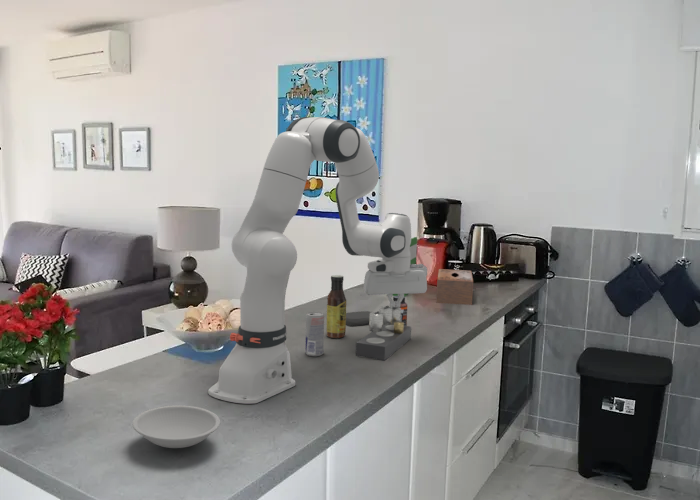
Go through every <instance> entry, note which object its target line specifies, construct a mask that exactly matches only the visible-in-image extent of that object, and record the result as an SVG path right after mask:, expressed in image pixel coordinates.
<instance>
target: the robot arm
mask: <svg viewBox="0 0 700 500" xmlns="http://www.w3.org/2000/svg"><path fill="white" fill-rule="evenodd" d="M314 161H318V162H324V163H325V162H328V163H334V165H335V169H336V172H337V175H338V183H336V186H335V200H336V206H337V212H338V217H339V221H340V226H341V232H342V233H341V234H342V235H341V238H342V246H343V248H344V249H345V251H346V252H347V254H349V255H351V256H355V257H357V256H359V257H360V256H361V257H362V256H364V257H374V258H378V259H375V260H372V261H369V262H367V269H368V270H367V271H365V272H366V273H365V274H364V280H363V292H364V293H365V294H366V295H368V296H373V295H375V296H376V295H386V297H387V299H388V301H389V307H392V308H400V302H401V301H402V300H403V298H404V294H408V295H410V294H411V295H412V294H425V293H426V292H427V290H428V282H427V276H428V268H427V266H426V265H424V263H418V264H417V263H416V264H410V259H411V254H410V244H411V238H412V223H411V219H410V216H408V215H406V214H403V213H396V212H389V213H386V214H385V218H384V221H383V222H381V223H379V224H378V225H375V224H365V223H363V222H362V221H361V220H360V219H359V214H358V209H357V204H356V203H357V201H356V200H358V199H361V198H364V197H365V196H367V195H368V194H369V193H371V192H372V191H373V190H374V189H375V188H376V186H377V185H378V183H379V180H380V172H379V167H378V164H377V161H376V158H375V155H374V152H373V149H372V147H371V144H370V143H369V140H368V138H367V137H366V135H365V133H364V132H363V131H362V130H361V129H360V128H358V127H355V125H353V124H352V123H351V122H348V121H345V120H343V119H333V118H328V117H325V116H324V117H323V116H317V117H316V116H315V117H310V116H303V117H299V118H298V117H297V118H296V119H294V120H293V121H291V122H290V124H289V125H288V126H287V128H286V131H283V132H280V133H279V134H278V135H277V136H276V138H275V140H274V141H273V143H272V145H271V147H270V150H269V152H268V155H267V157H266V159H265V161H264V165H263V169H262V172H261V176H260V178H259V179H260V180H259V182H258V185H257V189H256V192H255V195H254V199H253V200H252V203H251V206H250V207H249V210H248V211H247V213H246V216H244V219H243V221H242V223H241V225H240V228H239V230H237V232H236V233H235V234H234V236H233V238H232V240H231V251H232V253H233V255H234V257H235V259H236V260H237V262H238V263H239V264H240V265H242V266H244V267H245V268H246V277H245V278H246V279H245V283H244V287H243V291H242V293H241V294H240V299H239V301H240V305H239V307H240V310H239V311H240V313H239V315H240V316H239V317H240V323H239V324H240V325H239V327H238V330H237V333H236V332H231V333H230V334H229V340H230V341H232V342H235V344H234V345H235V346H234V347H233V348H232V349H231V351H230V352H229V354H228V355H227V357H226V359H225V360H224V361H223V363H222V364H221V366H220V368H219V371H218V381H217V382H216V383H215V384H213V385H212V386H210V387H209V389H207V390H208V392H207V394H208V395H209V396H210V397H212V398H215V399H219V400H222V401H225V402H231V403H236V404H258V403H260V402H262V401H264V400H267V399H269V398H271V397H273V396H275V395H277V394H280V393H283V392H285V391H287V390H289V389H291V388H293V387H295V386H296V380H295V379H294V378H293V376H292V366H291V364H292V363H291V354H290V353H291V352H290V351H289V349H288V347H287V345H286V341H287V334H288V332H287V326H286V325H285V317H286V316H285V315H286V313H285V312H286V311H285V308H286V292H287V287H288V284H289V278H290V275H291V271H293V269H295V266H296V264H297V261H298V260H297V259H298V253H297V248H296V246H295V244H294V243H293V242H292V240H290V238H288V237H287V235H285V234H284V232H285V230H286V229H287V227H288V225H289V223H290V221H291V220H292V219H293V218H294V217H295V216H296V214H297V213H298V210H299V208H300V204H301V201H302V197H303V195H304V194H303V193H304V192H305V191H304V190H305V187H306V183H307V180H308V176H309V172H310V167H311V165H312V164H313V162H314ZM393 294H398V296H399V298H398V300H397V301H393Z"/></svg>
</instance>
